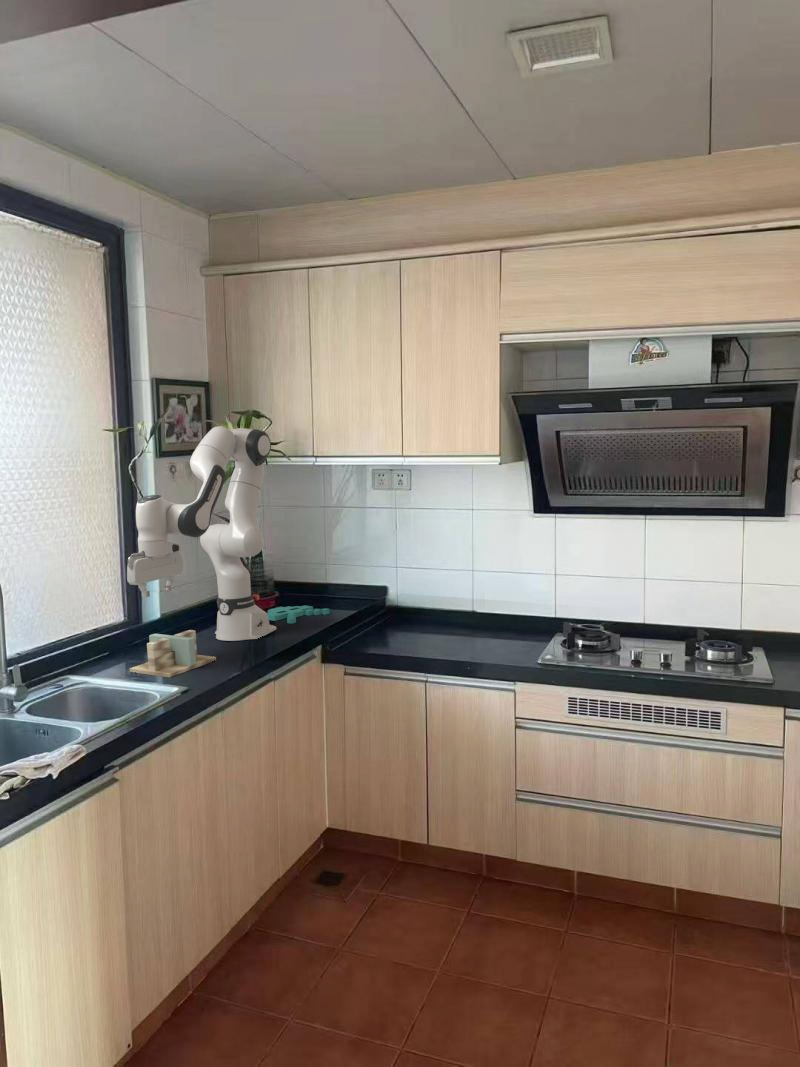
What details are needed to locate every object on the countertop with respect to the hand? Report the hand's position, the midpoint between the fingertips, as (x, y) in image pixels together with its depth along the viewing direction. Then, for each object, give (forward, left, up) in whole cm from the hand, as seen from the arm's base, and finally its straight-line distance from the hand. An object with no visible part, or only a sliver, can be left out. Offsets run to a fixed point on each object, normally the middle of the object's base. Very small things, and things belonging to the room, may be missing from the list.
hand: (157, 594), depth 257 cm
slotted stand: (+1, +6, -22) cm, 22 cm away
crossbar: (+1, +5, -21) cm, 21 cm away
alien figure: (-71, -2, -22) cm, 74 cm away
